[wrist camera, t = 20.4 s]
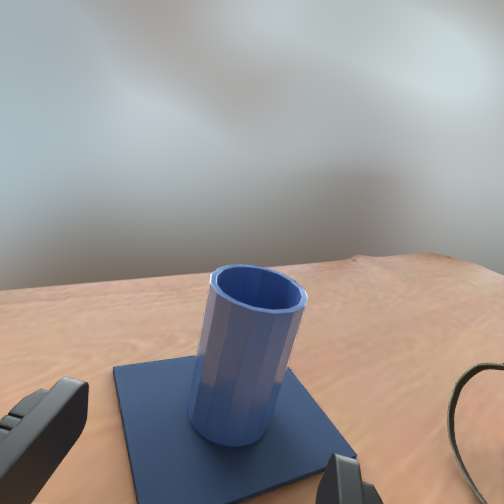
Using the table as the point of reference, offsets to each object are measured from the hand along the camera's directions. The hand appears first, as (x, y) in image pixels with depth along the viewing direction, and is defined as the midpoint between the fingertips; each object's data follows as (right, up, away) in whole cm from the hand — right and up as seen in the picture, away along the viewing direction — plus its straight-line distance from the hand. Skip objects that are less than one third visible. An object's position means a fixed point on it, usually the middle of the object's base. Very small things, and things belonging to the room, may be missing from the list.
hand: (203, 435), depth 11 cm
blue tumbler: (0, -5, +14) cm, 15 cm away
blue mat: (0, -6, +14) cm, 15 cm away
